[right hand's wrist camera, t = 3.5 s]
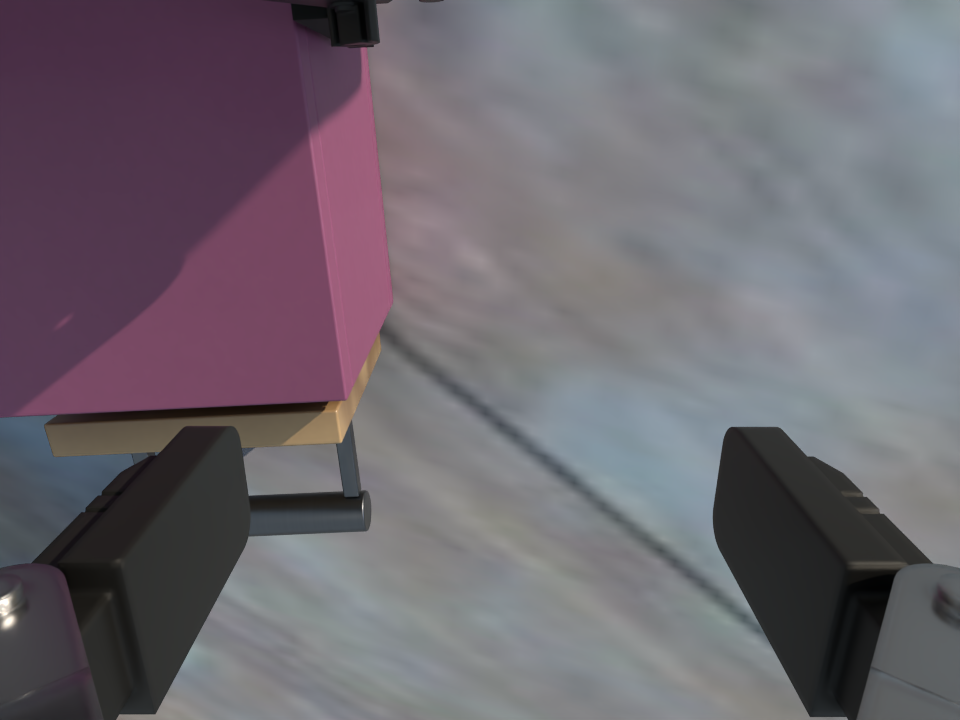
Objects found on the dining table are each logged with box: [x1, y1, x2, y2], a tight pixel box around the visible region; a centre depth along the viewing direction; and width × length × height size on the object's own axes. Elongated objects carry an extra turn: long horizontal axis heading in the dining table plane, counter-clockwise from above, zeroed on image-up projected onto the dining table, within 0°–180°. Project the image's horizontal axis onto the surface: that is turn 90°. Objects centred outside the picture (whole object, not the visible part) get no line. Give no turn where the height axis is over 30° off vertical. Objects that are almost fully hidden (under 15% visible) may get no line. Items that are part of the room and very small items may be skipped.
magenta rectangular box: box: [0, 0, 393, 418], centre depth 22 cm, size 16×11×11 cm, turn 3°
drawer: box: [44, 333, 381, 536], centre depth 24 cm, size 20×9×9 cm, turn 3°
